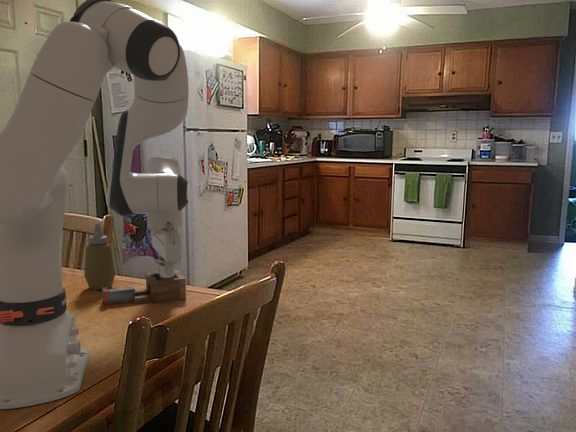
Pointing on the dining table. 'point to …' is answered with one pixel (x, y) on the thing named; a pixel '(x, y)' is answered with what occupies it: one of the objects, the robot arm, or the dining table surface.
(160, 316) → the dining table surface
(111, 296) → the grey rectangular block
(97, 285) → the squeeze bottle
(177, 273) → the box
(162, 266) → the grey cylindrical piece
